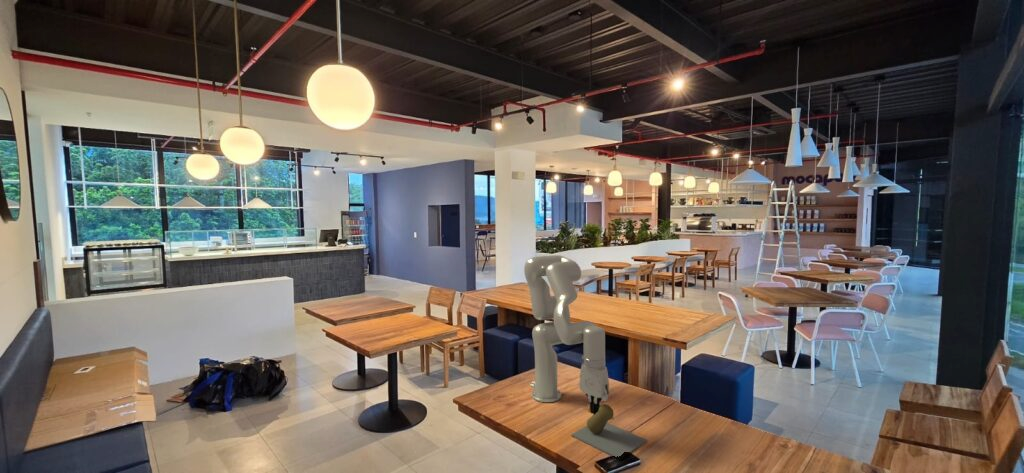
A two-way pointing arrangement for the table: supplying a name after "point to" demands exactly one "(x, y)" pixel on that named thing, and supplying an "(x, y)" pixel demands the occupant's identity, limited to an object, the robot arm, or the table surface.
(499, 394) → the table surface
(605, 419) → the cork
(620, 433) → the slate mat
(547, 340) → the robot arm
